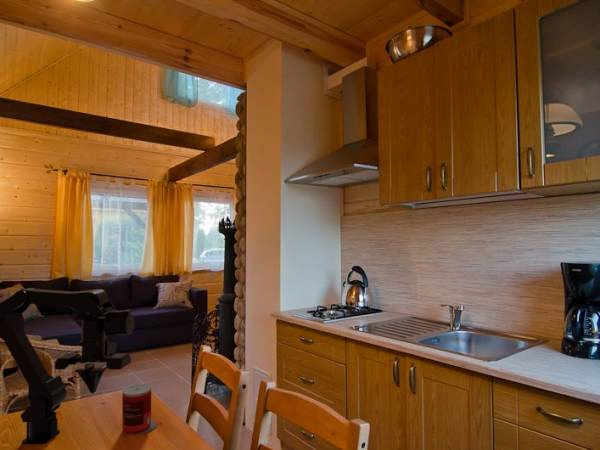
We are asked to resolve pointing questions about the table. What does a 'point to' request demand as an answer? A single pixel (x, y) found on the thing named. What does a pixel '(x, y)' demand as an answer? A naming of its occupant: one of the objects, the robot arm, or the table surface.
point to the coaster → (150, 428)
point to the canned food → (136, 408)
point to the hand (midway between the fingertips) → (93, 392)
